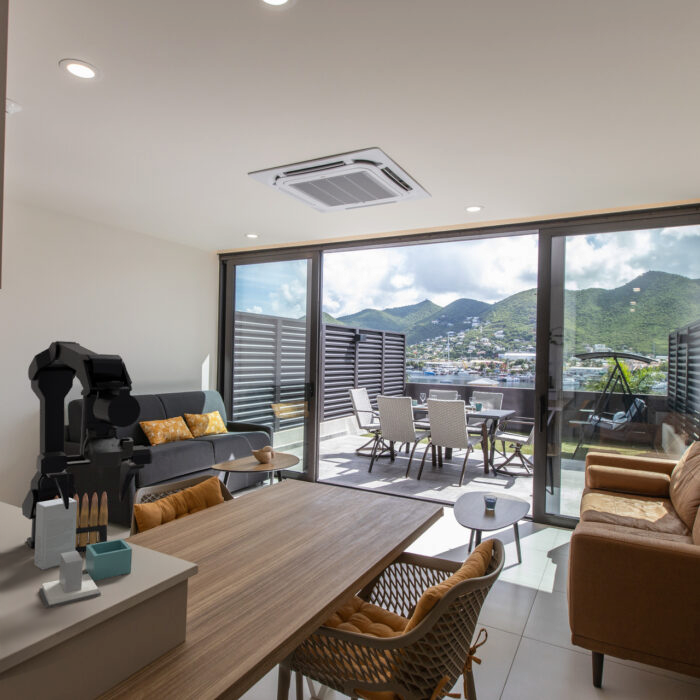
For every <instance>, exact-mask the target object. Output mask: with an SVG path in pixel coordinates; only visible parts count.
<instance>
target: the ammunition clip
mask: <svg viewBox="0 0 700 700" xmlns="http://www.w3.org/2000/svg"><path fill="white" fill-rule="evenodd" d="M55 499H59V498H58V496H56V497H55ZM55 499H54V500H55ZM74 500H76V501H77V514H76V540H75V551H77V552H78V553H79V554H80V553H86V545H90V544H95V543H101V542H106V541H108V520H109V519H108V517H109V516H108V514H109V512H108V511H109V510H108V496H107V492H106V491H103V493H102V495H101V500H100V507H99V506H98V505H99V504H98V503H99V500H98V495H97V492H94V493H93V494H92V499H91V503H90V504H91V505H90V510H89V498H88V493H86V492H85V493H84V495H83V496H82V500H81V501H82V502H81V509H80V502H79V501H80V498H79V496H78V493H77V494H75V496H74ZM99 508H100V510H99ZM80 510H81V511H80Z"/></svg>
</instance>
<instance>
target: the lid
mask: <svg viewBox="0 0 700 700" xmlns="http://www.w3.org/2000/svg"><path fill="white" fill-rule="evenodd" d="M83 563H84V559H83V557H82V556H81V554H80V553H78V552H77V551H72V552H67V553H61V556H60V565H59V575H58V576H59V579H57V580H54V581H48V582H43V583H42V586H41V588H42V589H43V591H44V594H45V596H46V599H47V601H48V603H49V605H51V604H55V603H60V602H64V601H68V600H72V599H76V598H80V597H85V596H89V595H93V594H97V593H98V590H99V588H98V586H97V584H96V583H95V581H93V580H92V578H91V577H90V575H89V574H88V573H85V574H83V568H84V565H83Z"/></svg>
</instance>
